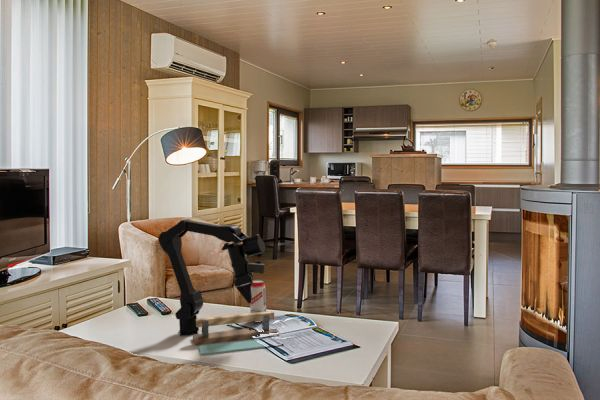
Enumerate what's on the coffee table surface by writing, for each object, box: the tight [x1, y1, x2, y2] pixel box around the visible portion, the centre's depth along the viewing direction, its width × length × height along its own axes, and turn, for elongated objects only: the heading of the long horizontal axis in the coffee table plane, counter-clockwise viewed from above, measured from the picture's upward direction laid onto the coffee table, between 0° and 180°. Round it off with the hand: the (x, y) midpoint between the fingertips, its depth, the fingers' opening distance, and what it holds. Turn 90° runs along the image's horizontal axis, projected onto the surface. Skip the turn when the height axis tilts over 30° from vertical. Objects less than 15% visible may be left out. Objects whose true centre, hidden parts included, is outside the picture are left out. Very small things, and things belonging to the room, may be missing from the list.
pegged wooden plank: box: [201, 315, 271, 338], centre depth 192 cm, size 24×5×6 cm, turn 106°
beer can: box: [249, 279, 267, 313], centre depth 212 cm, size 6×6×16 cm
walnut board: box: [192, 328, 280, 346], centre depth 192 cm, size 30×8×2 cm, turn 106°
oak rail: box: [196, 310, 275, 328], centre depth 192 cm, size 28×2×2 cm, turn 106°
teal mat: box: [198, 339, 265, 356], centre depth 182 cm, size 28×9×1 cm, turn 106°
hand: (250, 301), depth 191 cm, fingers open, 9 cm apart
